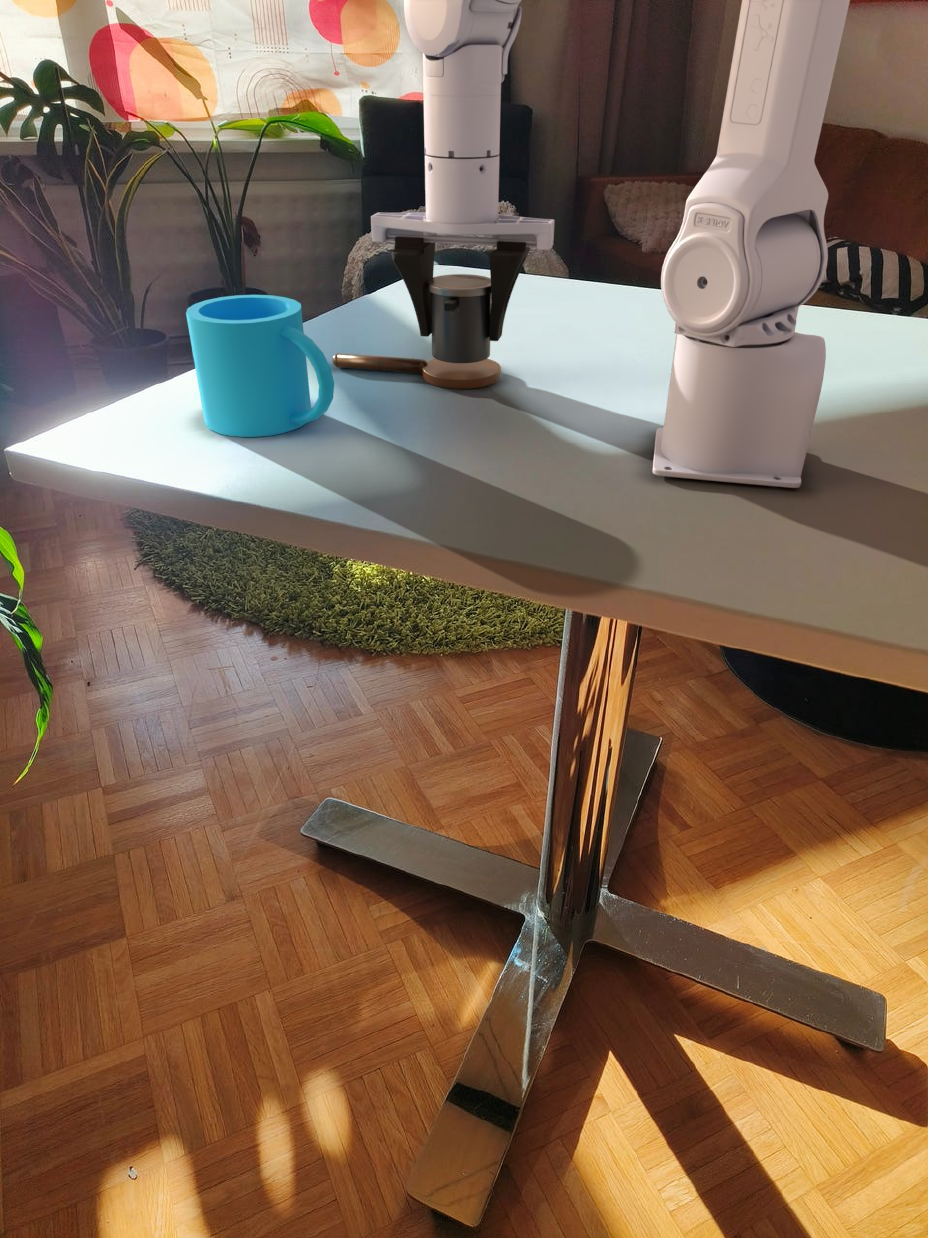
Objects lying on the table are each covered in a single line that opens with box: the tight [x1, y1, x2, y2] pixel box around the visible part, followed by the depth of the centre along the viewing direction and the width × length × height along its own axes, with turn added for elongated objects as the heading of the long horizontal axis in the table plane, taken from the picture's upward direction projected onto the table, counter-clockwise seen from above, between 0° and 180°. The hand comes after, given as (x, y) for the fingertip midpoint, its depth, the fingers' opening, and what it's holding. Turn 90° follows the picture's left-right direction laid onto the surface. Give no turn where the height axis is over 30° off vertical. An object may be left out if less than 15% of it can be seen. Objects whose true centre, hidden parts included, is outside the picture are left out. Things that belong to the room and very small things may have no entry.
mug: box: [185, 294, 335, 438], centre depth 63 cm, size 12×8×8 cm
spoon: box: [332, 352, 502, 390], centre depth 75 cm, size 15×7×1 cm, turn 78°
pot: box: [427, 273, 491, 363], centre depth 72 cm, size 6×7×6 cm
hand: (461, 335), depth 73 cm, fingers closed on pot, 5 cm apart
